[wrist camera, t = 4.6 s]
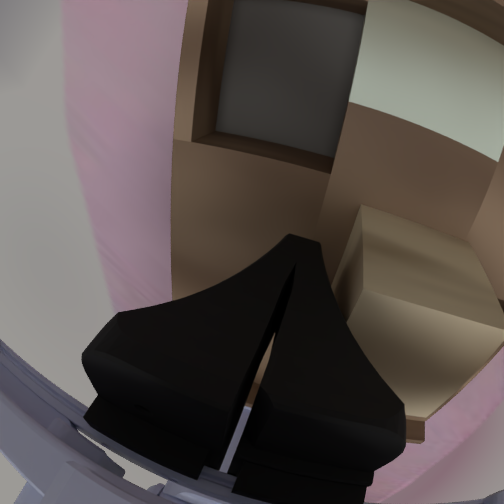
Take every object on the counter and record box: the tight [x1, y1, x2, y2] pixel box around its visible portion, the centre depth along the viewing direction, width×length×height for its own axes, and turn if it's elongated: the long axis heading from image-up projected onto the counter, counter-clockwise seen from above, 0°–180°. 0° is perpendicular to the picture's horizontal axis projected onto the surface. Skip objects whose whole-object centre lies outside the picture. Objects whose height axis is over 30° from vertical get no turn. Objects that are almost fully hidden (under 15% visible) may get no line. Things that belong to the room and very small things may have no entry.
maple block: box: [331, 204, 504, 418], centre depth 9 cm, size 4×4×4 cm
